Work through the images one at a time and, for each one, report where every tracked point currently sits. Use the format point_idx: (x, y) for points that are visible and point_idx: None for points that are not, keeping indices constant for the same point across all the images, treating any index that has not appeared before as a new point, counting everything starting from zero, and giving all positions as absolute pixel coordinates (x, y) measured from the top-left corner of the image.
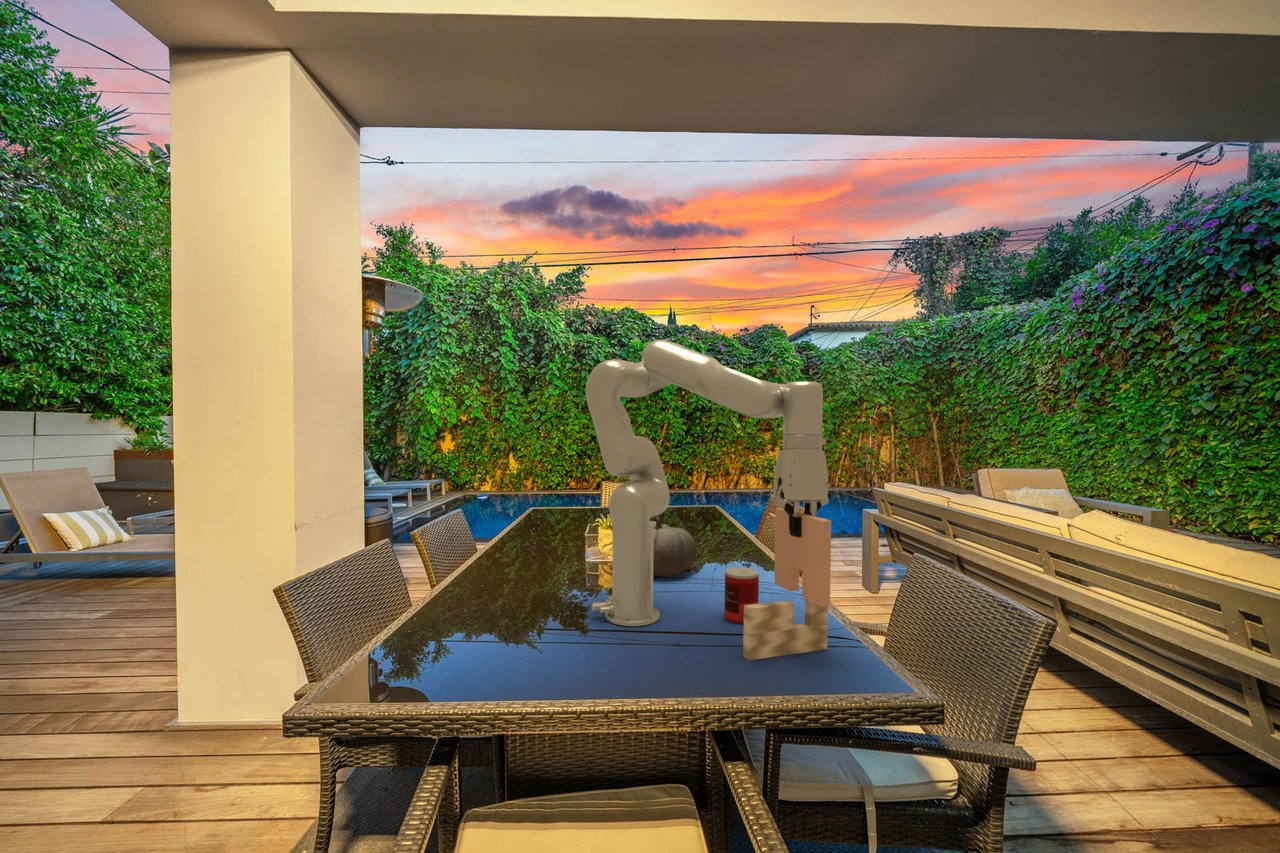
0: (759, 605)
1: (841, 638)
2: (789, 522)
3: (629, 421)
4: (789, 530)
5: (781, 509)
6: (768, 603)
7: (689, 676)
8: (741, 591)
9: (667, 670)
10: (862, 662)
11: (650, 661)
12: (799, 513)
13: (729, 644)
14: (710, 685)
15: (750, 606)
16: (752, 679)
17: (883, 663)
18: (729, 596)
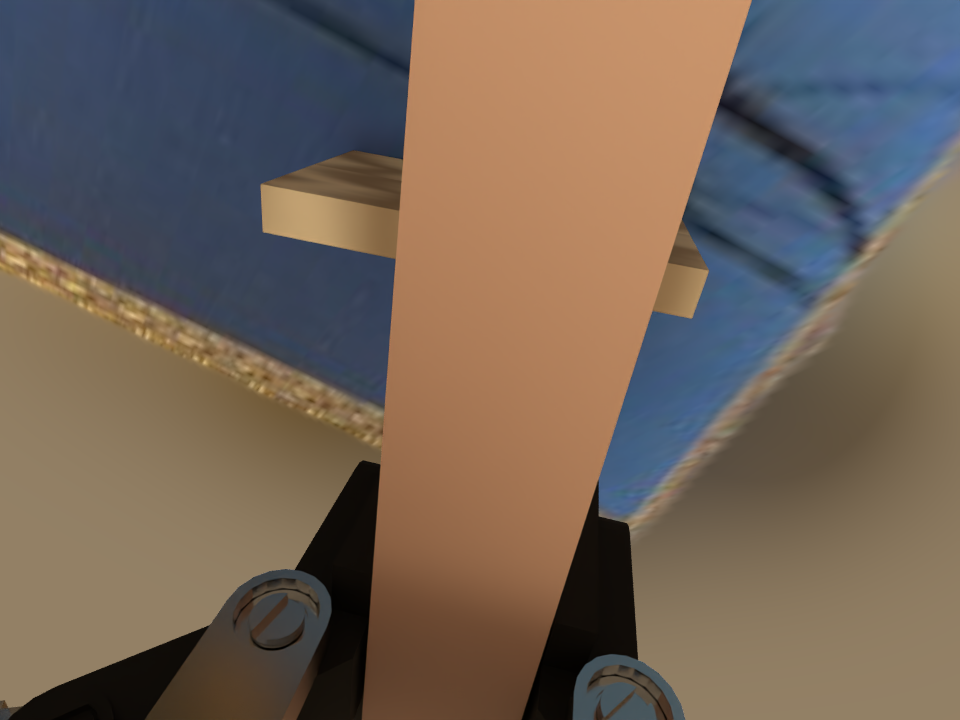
0: (327, 220)
1: (823, 193)
2: (323, 528)
3: None
4: (362, 464)
5: (443, 213)
6: (384, 217)
7: (144, 192)
8: None
9: (91, 126)
10: (673, 368)
11: (48, 34)
12: (450, 673)
13: (362, 24)
14: (183, 264)
15: (281, 212)
16: (300, 291)
17: (724, 402)
18: None
